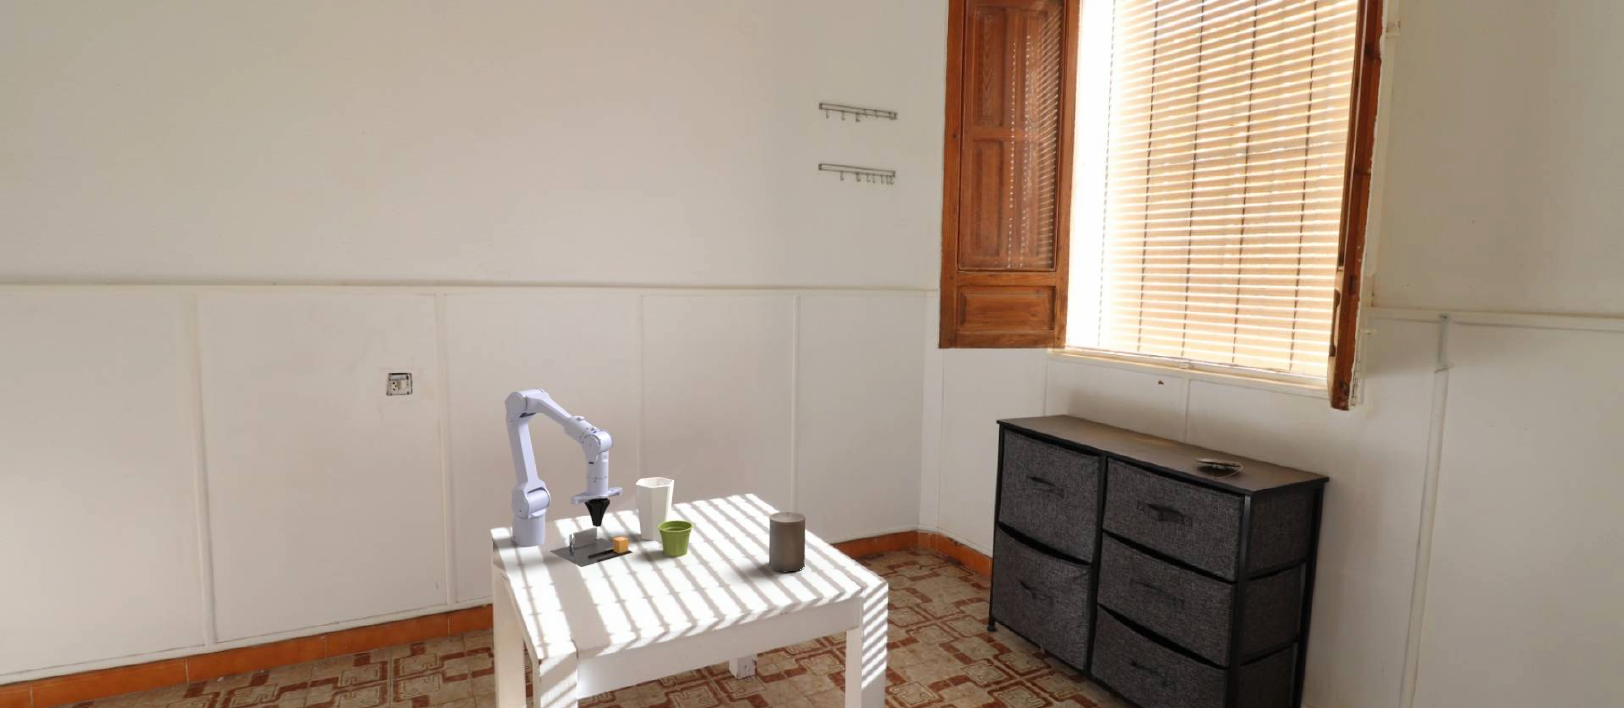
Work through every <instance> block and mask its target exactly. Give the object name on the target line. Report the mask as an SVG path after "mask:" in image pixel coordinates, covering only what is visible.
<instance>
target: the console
mask: <svg viewBox="0 0 1624 708" xmlns="http://www.w3.org/2000/svg"><path fill="white" fill-rule="evenodd" d="M568 537H569V541H568V542H569V546H568V545H567V546H565V547H561V548H556V549H553V550H550V551H549V552H550V553H552V554H555V555H556V556H558V557H560V558H562V559H565V560H567V561H569V562H571V563H573V564H574V565H577V566H579V567H580V568H584V567H588V566H590V565H594V564H596V563H597V564H598V563H601V562H605V561H608V560H612V559H615V558H619V557H623V556H626V555H629V554H633V553H634V551H632V550H630V549H628V551H625V552H622V553H616V552H614V542H612V541H609V540H607V539H605V538H602V537H600V538H597V542H595V543H591V544H587V545H584V546H580V547H576V548H574V547H573V533H571V534H569V536H568Z"/></svg>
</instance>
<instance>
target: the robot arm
mask: <svg viewBox="0 0 1624 708" xmlns="http://www.w3.org/2000/svg"><path fill="white" fill-rule="evenodd" d="M504 405H505V412H506V415H505V424H506V429H507V435H508V439H509V440H508V441H509V444H510V450H511V456H512V460H513V465H514V466H513V467H514V472H515V475H516V484H515V486H514V487H513V489H512V491H511V504H510V505H511V511H512V512H513V513H514V516H513V518H512V521H511V524H512V526H511V528H512V529H511V532H512V533H511V534H512V535H511V536H512V540H511V541H513V542H515V543H517V545H519V546H520V547H524V548H525V547H526V548H527V547H536V546H542V545H543V544H544V543H545V542H546V513H547V509H548V508H549V506H550V505H551V501H552V498H551V497H552V496H551V494H550V492H549V490H548V489H547V486H546V483H545V482H544V481H543V480H542V479H540V478H539V476H538V470H537V466H536V459H535V456H534V455H535V454H534V450H533V446H532V440H531V435H530V430H529V423H530V421H531V420H532V419H533V417H534V416H535V415H536V414H538V413H539V414H542V415H543V414H544V415H545V416H546V417H548V418H550V419H551V420H552V421H554V422H556V423H558V424H559V425H561V427H563V431H564V433H565V434H566V435H568V436H569V437H570V438H571V439H572V440H574V441H575V442H577V443H578V444H580V445H581V448H582V451H583V454H584V455H585V456H584V458H585V460H586V463H585V465H586V470H585V473H586V475H585V476H586V478H585V480H586V482H585V485H586V486H585V490H586V491H584V492H582V493H578V494H575V495H572V496H570V504H571V505H573V506H577V505H579V504H584V505H585V507H586V508H587V511H588V513H589V516H590V518H591V519H590V520H591V523H592V526H593V527H595V528H597V527H602V524H603V519H604V516H605V514H606V511H607V509H608V507H609V506H610V504H611V499H609V498H612V497H616V496H618V497H619V496H623V488H622V487H620V486H617V487H609V463H610V462H609V460H610V459H609V455H610V454H609V452H610V450H611V449H612V447H613V445H614V439H613V435H612V434H611V433H610V432H609V431H608V430H606V429H599V428H598V427H596V426H595V425H592V424H591V423H590V422H588V421H586V420H585V419H586V417H584V416H583V415H571V414H570V413H569V412H567V410H565V409H564V408H563V407H562V406H560V405H559V404H558V403H556V402H555V401H554V400H553V399H552V398H551V397H550V394H549V393H548V392H547V391H545V390H544V389H543V388H540V387H534V388H531V389H525V390H519V391H512V392H510V394H509V395H508V396H507V398H505V400H504Z"/></svg>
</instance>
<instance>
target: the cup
mask: <svg viewBox="0 0 1624 708" xmlns="http://www.w3.org/2000/svg"><path fill="white" fill-rule="evenodd" d="M634 484H635V491H636V492H635V493H636V500H637V501H636V502H637V513H638V522H639V529H640V537H641V539H643V540H647V541H656V542H658V543H662V538H661V534H660V530H659V529H658V525H659V524H661V523H663V522H667V521H670V518H671V517H670V515H671V509H672V500H673V493H674V484H675V480H674V479H670V478H665V477H660V476H658V477H657V476H656V477H648V478H647V477H645V478H640V479H638V481H636V483H634Z"/></svg>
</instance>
